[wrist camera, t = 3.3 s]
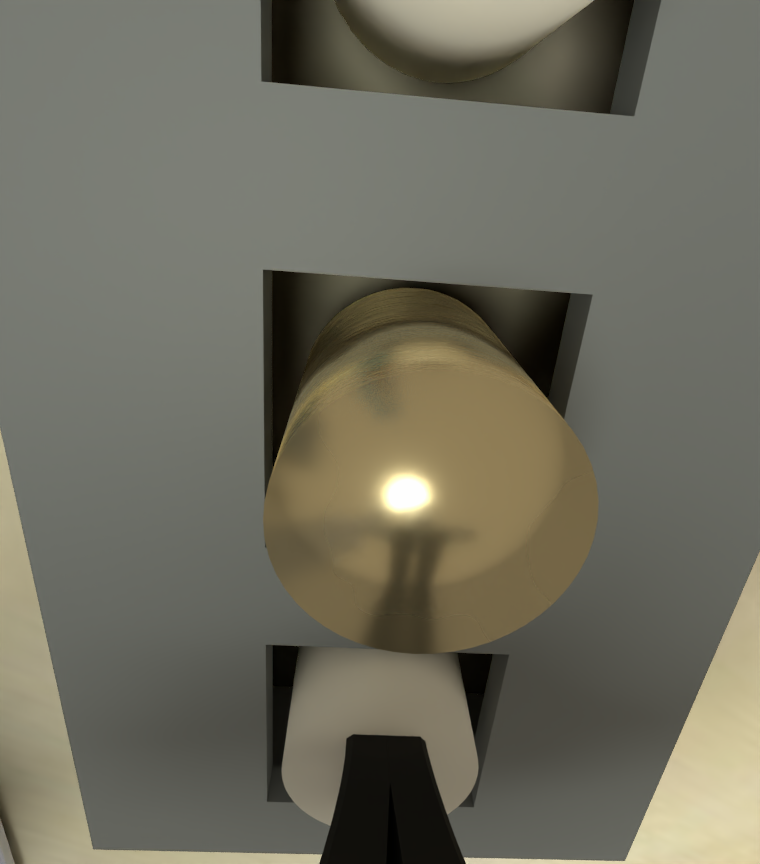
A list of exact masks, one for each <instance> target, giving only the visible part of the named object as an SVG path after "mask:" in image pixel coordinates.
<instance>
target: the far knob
mask: <svg viewBox="0 0 760 864" xmlns="http://www.w3.org/2000/svg"><path fill="white" fill-rule="evenodd" d="M353 734H360V735H390V736H420V737H421V738H422V739H423V740H425V742H426V746H427V750H428V754H429V758H430V762H431V766H432V769H433V773H434V776H435V779H436V783H437V786H438V789H439V792H440V795H441V798H442V801H443V804H444V807H445V810H446V813H447V814H449V813H450V812H452V811H453V810H454V809H456V808H457V807H458V806H459V805H460V804H461V803H462V802H463V801H464V800H465V799H466V798H467V796H468V795H469V794H470V792H471V791H472V789H473V787H474V785H475V782H476V779H477V776H478V768H479V767H478V757H477V752H476V746H475V741H474V736H473V731H472V726H471V720H470V715H469V710H468V705H467V699H466V694H465V689H464V684H463V679H462V673H461V668H460V663H459V658H458V653H456V652H445V653H436V654H409V653H398V652H391V651H386V650H381V649H359V648H335V647H311V646H299V649H298V656H297V663H296V670H295V677H294V684H293V691H292V698H291V705H290V712H289V719H288V726H287V733H286V740H285V747H284V754H283V761H282V770H281V771H282V780H283V783H284V787H285V789H286V791H287V793H288V795H289V796H290V797H291V799H292V800H293V801H294V803H295V804H296V805H297V806H298V807H299V808H300V809H301V810H303V811H304V812H305V813H307V814H308V815H310V816H311V817H313V818H315V819H316V820H318V821H320V822H323V823H325V824H327V825H330V826H331V822H332V818H333V814H334V810H335V806H336V802H337V797H338V793H339V788H340V784H341V779H342V773H343V767H344V760H345V750H346V738H348V737H349V736H351V735H353Z"/></svg>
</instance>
